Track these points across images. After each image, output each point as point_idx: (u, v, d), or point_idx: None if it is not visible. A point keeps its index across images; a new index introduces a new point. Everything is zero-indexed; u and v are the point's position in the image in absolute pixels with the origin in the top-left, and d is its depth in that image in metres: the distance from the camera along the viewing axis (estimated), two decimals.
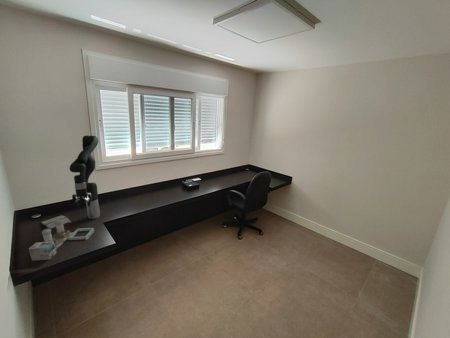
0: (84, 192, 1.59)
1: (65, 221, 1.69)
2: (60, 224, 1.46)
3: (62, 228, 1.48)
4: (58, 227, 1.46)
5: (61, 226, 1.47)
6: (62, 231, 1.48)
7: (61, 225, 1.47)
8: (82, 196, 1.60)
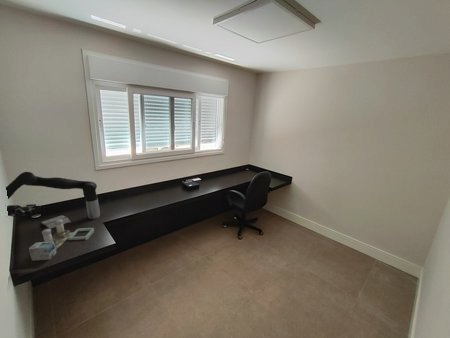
0: None
1: (65, 221, 1.69)
2: (60, 224, 1.46)
3: (62, 228, 1.48)
4: (58, 227, 1.46)
5: (61, 226, 1.47)
6: (62, 231, 1.48)
7: (61, 225, 1.47)
8: None
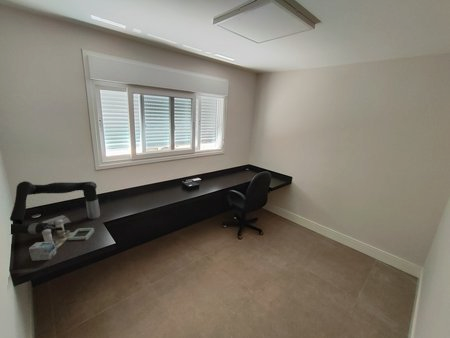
0: (41, 232, 1.44)
1: (65, 221, 1.68)
2: (60, 224, 1.46)
3: (62, 228, 1.48)
4: (58, 227, 1.46)
5: (61, 226, 1.47)
6: (62, 231, 1.48)
7: (61, 225, 1.47)
8: None
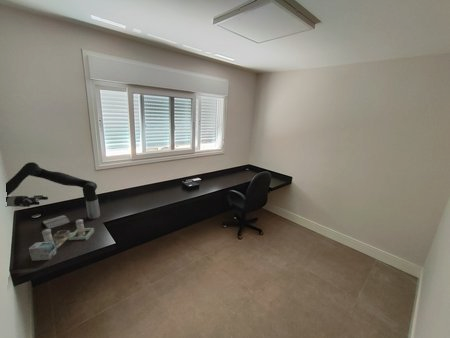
0: None
1: (65, 221, 1.68)
2: (81, 224, 1.49)
3: (82, 228, 1.51)
4: (79, 227, 1.49)
5: (81, 226, 1.50)
6: (82, 231, 1.51)
7: (81, 225, 1.50)
8: None
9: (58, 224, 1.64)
